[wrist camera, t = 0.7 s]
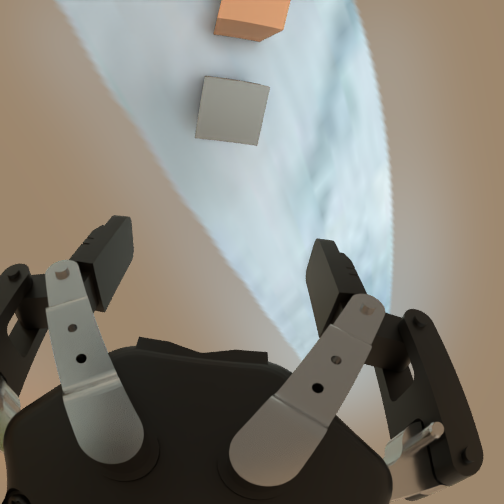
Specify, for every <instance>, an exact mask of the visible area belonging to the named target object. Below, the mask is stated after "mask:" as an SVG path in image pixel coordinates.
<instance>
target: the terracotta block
mask: <svg viewBox="0 0 504 504" xmlns="http://www.w3.org/2000/svg"><path fill="white" fill-rule="evenodd" d="M289 4H290V0H221V4H220V8H219V12H218V16H217V21H216V25H215V30H214V35H222V36H229V37H236V38H242V39H248V40H253V41H258V42H260V41H262V40H264V39H266V38H268V37H270V36H272V35H274V34H276V33H278V32H280V31H282V30H283V29H284V25H285V21H286V17H287V13H288V9H289Z"/></svg>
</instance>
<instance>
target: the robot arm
mask: <svg viewBox="0 0 504 504" xmlns="http://www.w3.org/2000/svg"><path fill="white" fill-rule="evenodd" d="M133 252H134V247H133V236H132V223H131V219H130V217H126V216H116V215H114V216H112V217H111V219H110V220H109V221H108V222H107V223H106V224H105V226H104V225H102V226H100V227H98V228H97V229H95V230H93V231H92V232H91V234H90V235H89V236H88V237H87V239H85V241H84V242H83V244H81V246H80V247H79V248H78V249H77V251H76V252H75V253H74V254H73V255H72V257H71V258H70V259H69V260H62V261H58V262H56V263H54V264H52V265H51V266H50V267H49V268H48V269H47V271H46V273H45V274H40V275H39V274H38V275H31V274H30V271H29V268H28V266H27V265H25V264H15V265H13V266H10V267H9V268H7V269H6V270H5V271H4V272H3V273H2V274H1V275H0V452H1V453H3V454H4V455H5V461H6V469H7V493H6V496H5V499H4V501H3V502H2V504H389V502H393V501H396V500H400V499H404V498H405V499H406V500H409V501H415V500H418V499H421V498H423V497H426V496H428V495H431V494H433V493H436V492H438V491H441V490H443V489H445V488H447V487H450V486H452V485H454V484H456V483H458V482H460V481H462V480H464V479H466V478H468V477H470V476H472V475H474V474H475V473H476V472H477V471H478V470H479V469H480V467H481V465H482V462H483V450H482V446H481V443H480V439H479V435H478V432H477V429H476V426H475V423H474V420H473V417H472V414H471V411H470V408H469V405H468V402H467V399H466V397H465V394H464V391H463V389H462V386H461V384H460V381H459V379H458V376H457V374H456V371H455V369H454V367H453V364H452V362H451V360H450V357H449V355H448V353H447V351H446V349H445V346H444V344H443V342H442V340H441V338H440V336H439V334H438V332H437V329H436V327H435V326H434V323H433V322H432V320H431V319H430V318H429V316H427V315H426V314H425V313H423V312H422V311H419V310H416V309H410V310H407V311H406V312H405V314H404V315H403V317H402V318H401V317H397V316H394V315H391V314H388V313H385V308H384V306H383V305H382V303H381V302H380V301H379V300H378V299H376V298H375V297H373V296H371V295H368V294H367V293H366V291H365V289H364V286H363V284H362V282H361V280H360V278H359V276H358V274H357V272H356V270H355V267H354V265H353V263H352V261H351V260H350V259H349V258H348V257H347V256H346V255H345V254H344V253H340V252H339V250H338V248H337V246H336V244H335V242H334V241H332V240H325V239H316V240H315V243H314V246H313V249H312V253H311V256H310V259H309V263H308V266H307V270H306V284H307V288H308V292H309V296H310V300H311V304H312V308H313V313H314V317H315V321H316V326H317V330H318V335H319V338H320V339H319V340H318V341H317V343H316V344H315V345H314V347H313V348H312V349H311V351H310V352H309V353H308V354H307V356H306V357H305V358H304V360H303V361H302V362H301V363H300V365H299V366H298V367H297V368H296V370H295V371H294V372H293V373H292V372H290V371H288V370H287V369H285V368H283V367H281V366H279V365H277V364H274V363H271V362H268V354H267V352H257V351H244V350H229V351H219V352H209V353H199V352H196V351H193V350H190V349H188V348H185V347H182V346H179V345H177V344H174V343H171V342H168V341H161V340H155V339H149V338H143V337H139V339H138V342H137V345H136V346H130V347H124V348H120V349H117V350H114V351H112V352H109V353H108V352H107V349H106V347H105V344H104V342H103V339H102V337H101V334H100V331H99V329H98V326H97V323H96V320H95V317H94V314H93V313H94V311H100V312H105V311H106V309H107V307H108V305H109V303H110V301H111V299H112V297H113V295H114V293H115V291H116V289H117V287H118V285H119V284H120V282H121V280H122V278H123V276H124V274H125V272H126V270H127V268H128V267H129V265H130V263H131V261H132V258H133ZM14 313H15V314H16V316H17V318H18V321H17V323H16V324H15V326H14V328H13V330H12V332H11V333H10V335H9V337H8V334H7V326H8V323H9V321H10V320H11V318H12V316H13V315H14ZM48 328H49V333H50V339H51V344H52V349H53V353H54V358H55V362H56V366H57V370H58V374H59V378H60V382H61V384H60V385H58V386H57V387H55V388H54V389H53V390H51V391H49V392H48V393H46V394H45V395H43V396H42V397H40V398H39V399H37V400H36V401H34V402H33V403H31V404H30V405H28V406H26V407H25V408H23V409H22V410H20V400H19V395H20V392H21V390H22V387H23V384H24V382H25V379H26V377H27V374H28V372H29V369H30V367H31V365H32V362H33V360H34V358H35V356H36V353H37V351H38V349H39V347H40V344H41V342H42V340H43V338H44V336H45V334H46V332H47V330H48ZM410 362H411V364H412V367H413V370H414V381H413V378H412V375H411V372H410V369H409V366H408V365H409V364H410ZM364 364H367V365H371V366H374V368H375V372H376V376H377V380H378V384H379V388H380V392H381V396H382V401H383V405H384V409H385V414H386V419H387V423H388V428H389V433H390V439H391V440H390V441H389V442H388V443H387V445H386V448H385V457H384V458H383V459H382V458H381V457H380V456H379V455H378V454H377V453H376V452H375V451H374V450H373V449H371V448H370V447H369V446H368V445H367V444H366V443H365V442H364V441H363V440H362V439H361V438H360V437H359V436H358V435H356V434H355V433H354V432H353V431H352V430H351V429H350V428H349V427H348V426H347V425H346V424H345V423H344V422H343V421H342V420H341V419H340V418H339V417H338V416H336V413H337V412H338V410H339V408H340V407H341V405H342V403H343V401H344V400H345V398H346V396H347V395H348V393H349V391H350V389H351V387H352V386H353V384H354V382H355V380H356V378H357V376H358V374H359V372H360V370H361V368H362V366H363V365H364Z"/></svg>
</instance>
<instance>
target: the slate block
mask: <svg viewBox="0 0 504 504" xmlns="http://www.w3.org/2000/svg"><path fill="white" fill-rule="evenodd" d="M269 90H270V87H268V86H264V85H260V84H256V83H252V82H246V81H240V80H234V79H227V78H219V77H211V76H205V79H204V84H203V90H202V96H201V102H200V108H199V114H198V120H197V127H196V134H195V138H199V139H209V140H218V141H226V142H234V143H241V144H248V145H255V146H257V144H258V140H259V135H260V131H261V126H262V122H263V117H264V112H265V108H266V104H267V99H268V95H269Z"/></svg>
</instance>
